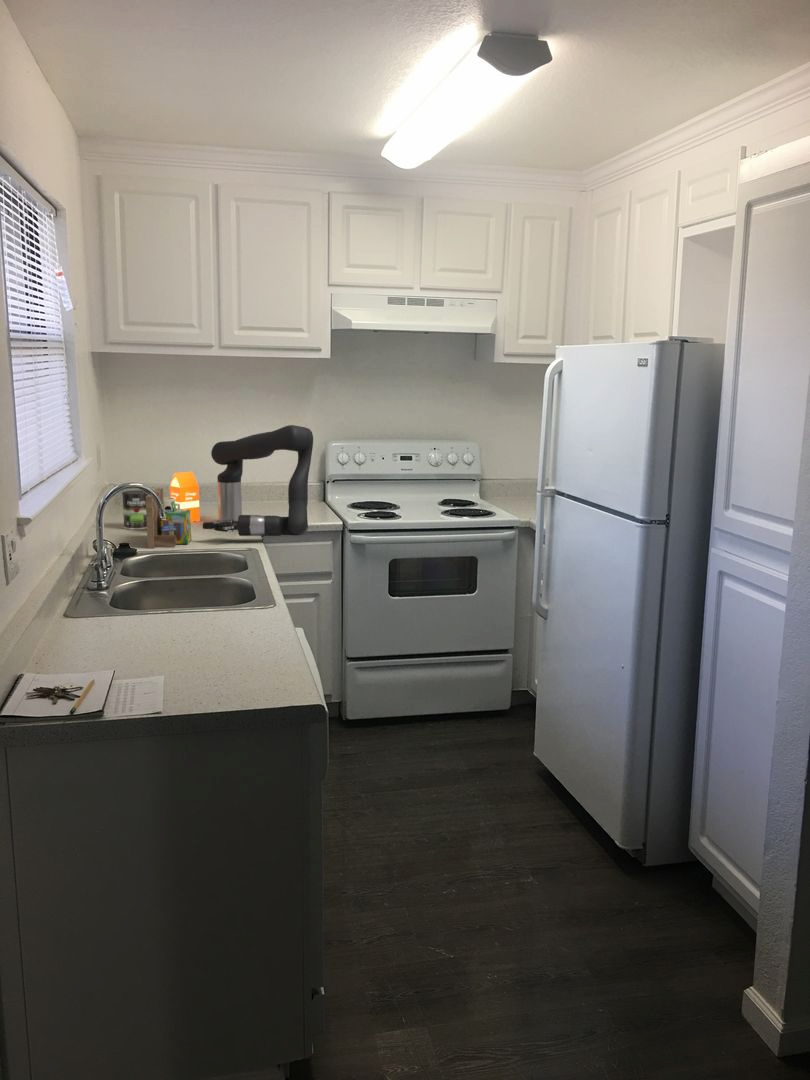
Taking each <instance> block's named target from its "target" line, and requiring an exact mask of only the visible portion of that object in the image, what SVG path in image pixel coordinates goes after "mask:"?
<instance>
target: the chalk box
mask: <svg viewBox="0 0 810 1080" xmlns="http://www.w3.org/2000/svg"><path fill="white" fill-rule="evenodd" d="M171 505H172V508H173V509H169V510H165V514H166V520H162V519H161V518H160V519H161V535H176V545H188V544H189V543H190V542H191V541H192V525H191V524H192V522H191V519H190V510H189V509H176V506H175V503H174V501H172V502H171ZM173 505H174V507H173ZM190 540H191V541H190ZM189 541H190V542H189ZM188 542H189V543H188Z"/></svg>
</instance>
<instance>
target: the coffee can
mask: <svg viewBox="0 0 810 1080" xmlns="http://www.w3.org/2000/svg"><path fill="white" fill-rule="evenodd" d="M143 491H144V490H138V489H137V490H125V491H122V493H121V495H122V508H123V510H122V511H123V514H122V515H123V529H125V530H129V531H130V530H131V531H132V530H134V531H140V530H141V531H142V530H147V517H146V496H147V495H148V494H146V493H145V492H143Z"/></svg>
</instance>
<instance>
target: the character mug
mask: <svg viewBox="0 0 810 1080" xmlns="http://www.w3.org/2000/svg"><path fill="white" fill-rule="evenodd" d="M172 501H174V503H175V498H170V496H169V497H167V496H166V497H164V509H165V510H169V509H173V508H172V505H171V502H172ZM175 506H178V509H180V504H179V503H175ZM173 507H174V505H173Z"/></svg>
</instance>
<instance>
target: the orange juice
mask: <svg viewBox="0 0 810 1080" xmlns="http://www.w3.org/2000/svg"><path fill="white" fill-rule="evenodd" d="M199 488H200V487H199V483H198V482H197V479H196V476H195V475H194V472H193V471H187V472H184V471H183V472H174V474H173V476H172V480H171V482H170V484H169V497H170V498H175V503H179V504H180V509H189V510H190V519H191V523H194V522H193V521H197V522H200V495H199V493H200V492H199ZM176 509H178V506H176Z"/></svg>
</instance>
